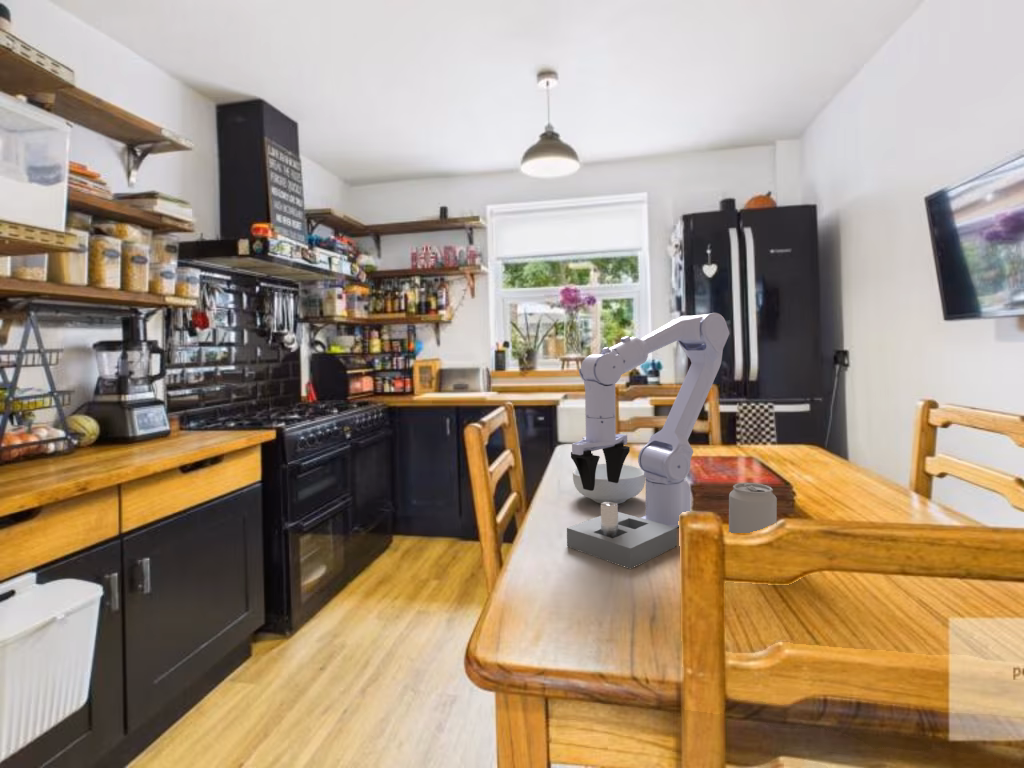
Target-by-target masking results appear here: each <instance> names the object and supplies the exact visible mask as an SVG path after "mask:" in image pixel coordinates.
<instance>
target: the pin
mask: <svg viewBox="0 0 1024 768" xmlns="http://www.w3.org/2000/svg"><path fill="white" fill-rule="evenodd" d="M618 512H619V504H617V503H614V502H603V503H600V516H601V535H604V536H607V537H610V538H615V537H617V536H618Z"/></svg>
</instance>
